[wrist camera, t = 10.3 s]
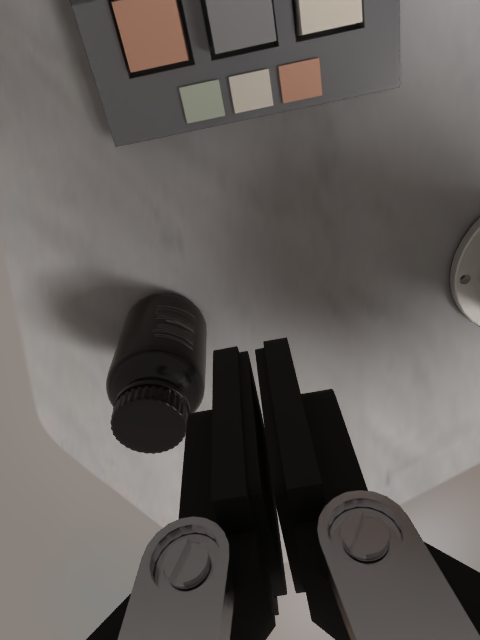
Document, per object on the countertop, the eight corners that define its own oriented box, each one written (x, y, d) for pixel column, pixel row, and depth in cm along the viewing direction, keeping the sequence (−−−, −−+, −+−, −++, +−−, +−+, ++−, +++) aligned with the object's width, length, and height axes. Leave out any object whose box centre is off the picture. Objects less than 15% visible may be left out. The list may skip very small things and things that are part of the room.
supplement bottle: (109, 316, 38) (68, 415, 28) (175, 275, 36) (158, 364, 26) (159, 371, 41) (139, 479, 31) (222, 336, 39) (224, 437, 29)
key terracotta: (176, -7, 26) (172, -12, 24) (190, 59, 28) (188, 59, 26) (120, 6, 27) (111, 2, 25) (137, 71, 28) (130, 72, 26)
